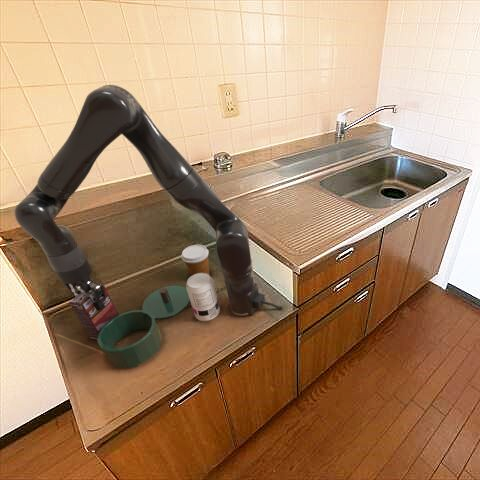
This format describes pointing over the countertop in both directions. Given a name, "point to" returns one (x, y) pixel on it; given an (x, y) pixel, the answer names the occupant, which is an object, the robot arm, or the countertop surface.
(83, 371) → the countertop surface
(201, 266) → the disposable coffee cup
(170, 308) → the lid
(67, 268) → the robot arm
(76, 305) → the supplement box
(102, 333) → the pot
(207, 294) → the supplement can
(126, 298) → the countertop surface
